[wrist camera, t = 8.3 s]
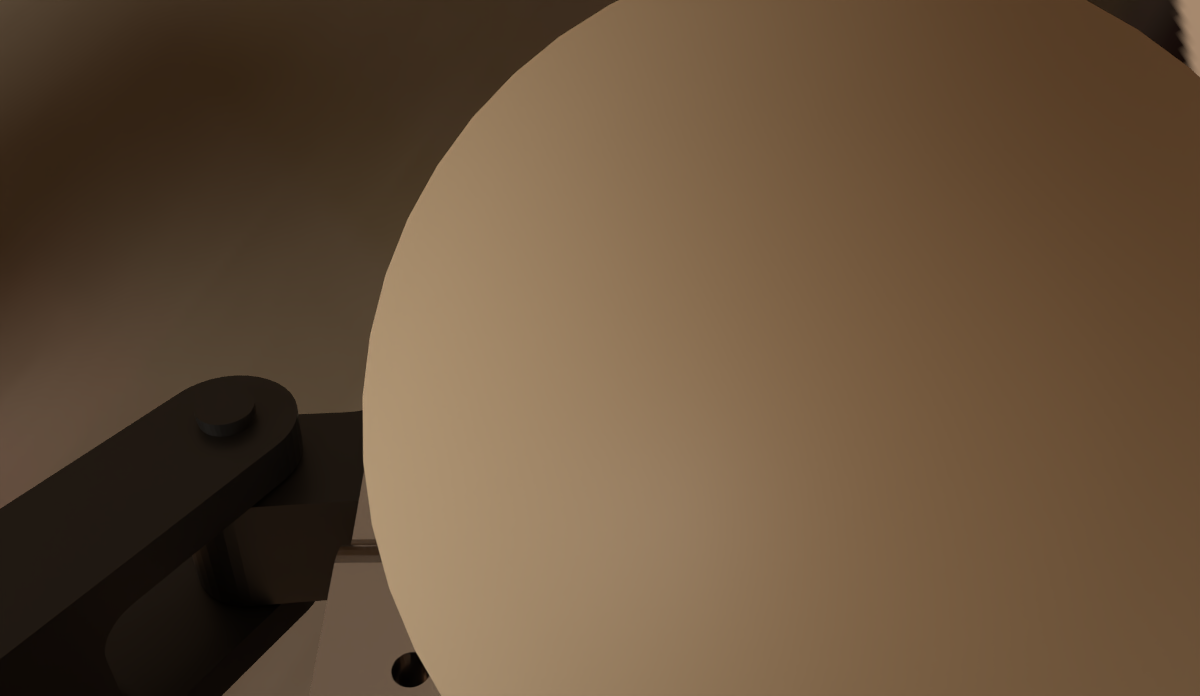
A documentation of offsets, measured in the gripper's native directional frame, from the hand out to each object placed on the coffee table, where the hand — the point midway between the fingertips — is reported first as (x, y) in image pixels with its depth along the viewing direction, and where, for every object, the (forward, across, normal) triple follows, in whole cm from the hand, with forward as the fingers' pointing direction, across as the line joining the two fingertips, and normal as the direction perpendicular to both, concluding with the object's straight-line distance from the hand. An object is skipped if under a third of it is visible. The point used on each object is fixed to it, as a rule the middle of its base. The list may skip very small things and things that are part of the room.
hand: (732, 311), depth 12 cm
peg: (+4, 0, +7) cm, 8 cm away
